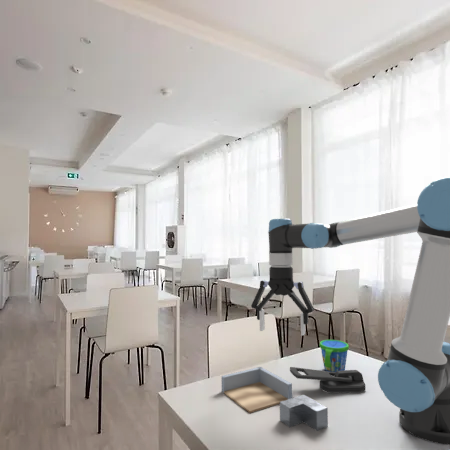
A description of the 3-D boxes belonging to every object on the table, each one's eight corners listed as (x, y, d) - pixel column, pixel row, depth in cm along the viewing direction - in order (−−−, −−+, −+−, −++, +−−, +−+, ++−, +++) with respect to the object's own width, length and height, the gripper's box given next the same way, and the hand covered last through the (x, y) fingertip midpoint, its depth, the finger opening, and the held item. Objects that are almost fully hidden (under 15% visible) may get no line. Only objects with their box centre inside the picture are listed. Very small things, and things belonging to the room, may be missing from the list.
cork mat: (288, 401, 105) (288, 399, 105) (249, 413, 98) (249, 411, 98) (259, 383, 118) (259, 381, 118) (223, 393, 111) (223, 391, 111)
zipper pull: (287, 365, 117) (355, 362, 120) (287, 385, 117) (355, 381, 120) (296, 376, 108) (369, 371, 111) (296, 397, 108) (369, 392, 111)
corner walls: (292, 399, 106) (291, 383, 106) (249, 413, 98) (249, 395, 98) (260, 381, 120) (260, 366, 120) (221, 391, 112) (221, 376, 112)
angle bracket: (327, 426, 91) (327, 407, 91) (302, 436, 86) (302, 416, 86) (304, 412, 98) (303, 394, 99) (279, 420, 94) (279, 401, 94)
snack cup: (339, 380, 120) (338, 351, 121) (312, 373, 127) (311, 345, 128) (355, 368, 132) (355, 341, 132) (330, 361, 139) (329, 336, 139)
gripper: (322, 266, 108) (323, 333, 107) (249, 264, 119) (250, 325, 118) (317, 267, 102) (319, 339, 101) (241, 266, 112) (242, 330, 111)
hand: (282, 332), depth 109 cm, fingers open, 13 cm apart
